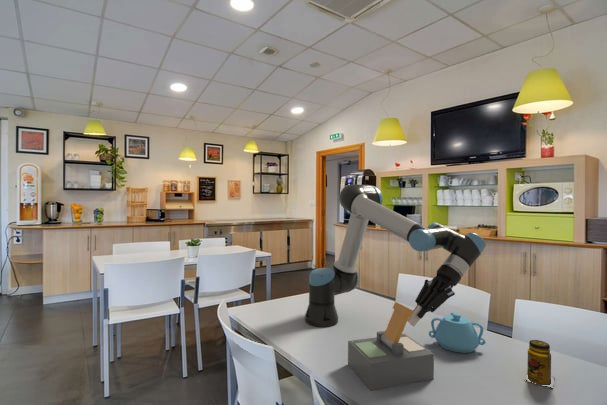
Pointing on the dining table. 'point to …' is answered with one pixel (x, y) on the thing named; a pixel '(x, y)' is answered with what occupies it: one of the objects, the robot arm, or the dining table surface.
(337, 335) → the dining table surface
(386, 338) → the breaker lever
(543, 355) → the condiment
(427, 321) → the dining table surface
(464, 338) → the teapot
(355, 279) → the robot arm
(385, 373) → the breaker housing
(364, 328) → the dining table surface
